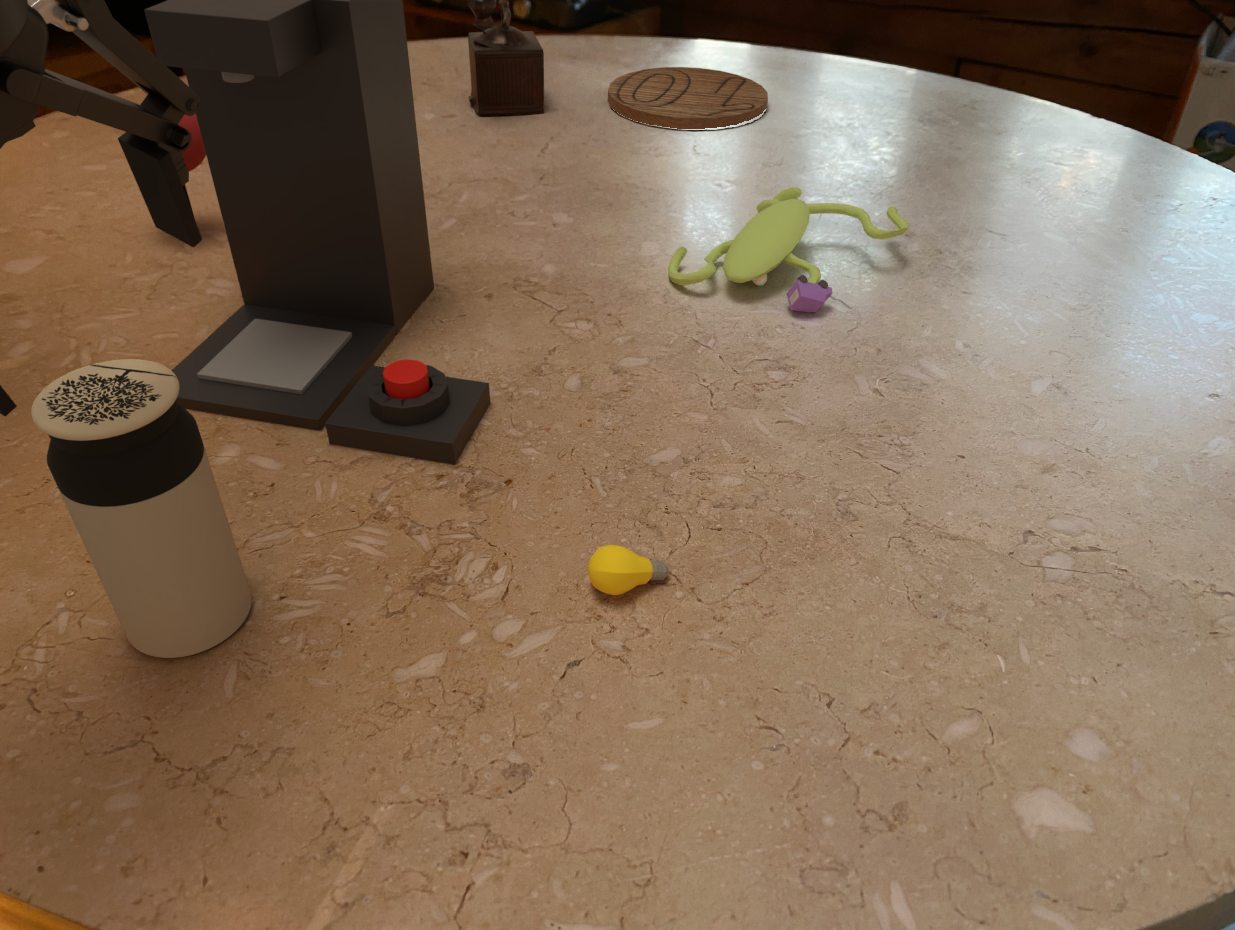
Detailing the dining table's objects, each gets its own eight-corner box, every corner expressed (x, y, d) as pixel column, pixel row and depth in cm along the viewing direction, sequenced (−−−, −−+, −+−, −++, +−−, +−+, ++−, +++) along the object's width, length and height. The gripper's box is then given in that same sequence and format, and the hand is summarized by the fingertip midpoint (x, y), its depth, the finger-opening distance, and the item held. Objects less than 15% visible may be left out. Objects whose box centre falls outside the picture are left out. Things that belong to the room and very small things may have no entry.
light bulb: (577, 581, 66) (586, 535, 65) (653, 582, 69) (663, 538, 68) (593, 603, 63) (603, 555, 62) (672, 604, 66) (682, 558, 65)
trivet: (774, 87, 155) (775, 75, 154) (757, 139, 136) (758, 125, 135) (627, 73, 159) (627, 61, 158) (590, 121, 140) (590, 108, 139)
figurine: (918, 252, 109) (929, 206, 105) (794, 340, 92) (802, 289, 89) (783, 206, 118) (790, 162, 114) (649, 279, 102) (651, 231, 98)
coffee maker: (151, 403, 82) (22, 37, 63) (294, 269, 102) (229, -40, 83) (320, 431, 79) (239, 58, 60) (434, 288, 99) (399, -26, 80)
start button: (378, 397, 77) (375, 379, 76) (396, 374, 80) (393, 356, 79) (419, 403, 77) (417, 385, 75) (435, 379, 79) (434, 362, 78)
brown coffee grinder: (466, 95, 148) (456, -32, 137) (535, 92, 150) (532, -33, 139) (476, 129, 136) (467, -6, 125) (551, 125, 138) (549, -8, 127)
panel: (329, 444, 78) (320, 405, 75) (374, 385, 85) (368, 347, 82) (454, 465, 76) (450, 425, 74) (490, 403, 83) (487, 365, 80)
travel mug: (202, 675, 59) (112, 450, 48) (99, 642, 61) (-11, 418, 50) (276, 589, 65) (212, 370, 54) (180, 561, 67) (99, 344, 56)
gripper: (-421, 184, 26) (-44, 520, 44) (204, -181, 38) (296, 202, 56) (-607, 72, 27) (-164, 445, 45) (58, -249, 39) (195, 149, 57)
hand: (91, 311), depth 51 cm, fingers open, 13 cm apart
